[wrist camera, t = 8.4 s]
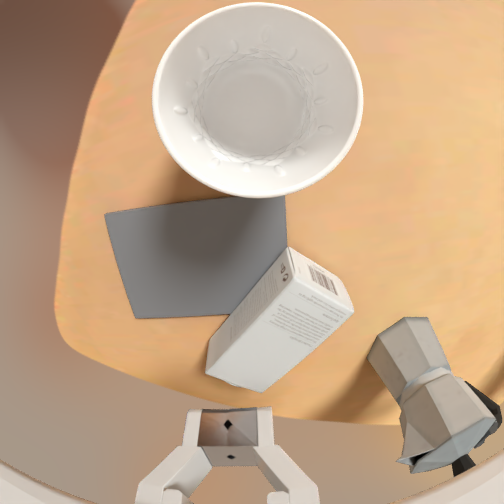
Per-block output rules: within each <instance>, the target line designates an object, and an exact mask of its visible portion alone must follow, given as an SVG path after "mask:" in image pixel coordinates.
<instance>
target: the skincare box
mask: <svg viewBox="0 0 504 504" xmlns="http://www.w3.org/2000/svg"><path fill="white" fill-rule="evenodd" d="M353 313H354V308H353V305H352V302H351V300H350V297H349V295H348V293H347V290H346V288H345V286H344V285H343V283H342V281H341V280H340V279H339V278H338V277H337V276H335V275H334V274H332V273H330V272H329V271H327V270H326V269H324V268H323V267H321V266H319V265H318V264H316V263H315V262H313V261H311V260H310V259H308V258H307V257H305V256H303V255H302V254H300V253H298V252H297V251H295V250H294V249H292V248H291V247H287V248H286V249H285V250H284V251H283V252H282V254H281V255H280V256H279V257H278V259H277V260H276V261H275V262H274V264H273V265H272V266H271V267H270V268H269V269H268V271H267V272H266V273H265V274H264V275H263V277H262V278H261V279H260V280H259V282H258V283H257V284H256V285H255V286H254V288H253V289H252V290H251V291H250V292H249V293H248V295H247V296H246V297H245V298H244V299H243V301H242V302H241V303H240V304H239V305H238V307H237V308H236V309H235V310H234V311H233V312H232V314H231V315H230V316H229V317H228V318H227V320H226V321H225V322H224V323H223V324H222V325H221V327H220V328H219V329H218V330H217V331H216V332H215V334H214V335H213V336H212V337H211V338H210V340H209V346H208V353H207V361H206V369H205V373H206V374H208V375H210V376H213V377H216V378H218V379H221V380H224V381H225V382H227V383H229V384H231V385H234V386H237V387H243V388H247V389H250V390H253V391H256V392H259V393H262V392H264V391H265V390H266V389H268V388H269V387H270V386H271V385H273V384H274V383H275V382H276V381H278V380H279V379H280V378H281V377H282V376H284V375H285V374H286V373H287V372H289V371H290V370H291V369H292V368H293V367H295V366H296V365H297V364H298V363H299V362H301V361H302V360H303V359H304V358H305V357H306V356H308V355H309V354H310V353H311V352H312V351H313V350H314V349H316V348H317V347H318V346H319V345H320V344H321V343H322V342H323V341H324V340H326V339H327V338H328V337H329V336H330V335H331V334H332V333H333V332H334V331H335V330H336V329H338V328H339V327H340V326H341V325H342V324H343V323H344V322H345V321H346V320H347V319H348V318H349V317H350V316H351V315H352V314H353Z"/></svg>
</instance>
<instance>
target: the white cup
mask: <svg viewBox="0 0 504 504" xmlns="http://www.w3.org/2000/svg"><path fill="white" fill-rule="evenodd" d="M152 110H153V117H154V121H155V125H156V128H157V131H158V134H159V136H160V138H161V140H162V142H163V144H164V146H165V148H166V149H167V151H168V152H169V154H170V155H171V156H172V158H173V159H174V160H175V161H176V163H177V164H178V165H179V166H180V167H181V168H182V169H183V170H185V171H186V172H187V173H188V174H189V175H191V176H192V177H193V178H195V179H196V180H198V181H199V182H201V183H203V184H204V185H206V186H208V187H210V188H212V189H215V190H217V191H220V192H223V193H226V194H230V195H234V196H239V197H246V198H272V197H279V196H284V195H288V194H291V193H294V192H297V191H300V190H302V189H305V188H307V187H309V186H311V185H313V184H314V183H316V182H318V181H319V180H321V179H322V178H324V177H325V176H326V175H328V174H329V173H330V172H331V171H332V170H333V169H334V168H335V167H336V166H337V165H338V164H339V163H340V162H341V161H342V160H343V158H344V157H345V156H346V154H347V153H348V151H349V150H350V148H351V146H352V144H353V142H354V140H355V138H356V136H357V133H358V130H359V127H360V124H361V119H362V113H363V90H362V84H361V79H360V76H359V72H358V70H357V67H356V65H355V62H354V60H353V58H352V57H351V55H350V53H349V51H348V50H347V48H346V47H345V46H344V44H343V43H342V42H341V41H340V39H339V38H338V37H337V36H336V35H335V34H334V33H333V32H332V31H331V30H330V29H329V28H327V27H326V26H325V25H324V24H322V23H321V22H319V21H318V20H316V19H315V18H313V17H311V16H309V15H307V14H305V13H303V12H301V11H299V10H296V9H293V8H290V7H287V6H283V5H278V4H272V3H260V2H253V3H241V4H235V5H230V6H227V7H223V8H220V9H217V10H215V11H212V12H210V13H208V14H206V15H204V16H202V17H201V18H199V19H197V20H196V21H194V22H193V23H191V24H190V25H189V26H188V27H186V28H185V29H184V30H183V31H182V32H181V33H180V34H179V35H178V36H177V37H176V38H175V39H174V40H173V42H172V43H171V44H170V46H169V47H168V49H167V50H166V52H165V53H164V55H163V57H162V59H161V61H160V63H159V66H158V68H157V71H156V74H155V78H154V83H153V89H152Z"/></svg>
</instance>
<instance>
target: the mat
mask: <svg viewBox="0 0 504 504" xmlns="http://www.w3.org/2000/svg"><path fill="white" fill-rule="evenodd" d="M104 216H105V220H106V224H107V228H108V232H109V236H110V240H111V243H112V247H113V251H114V254H115V258H116V261H117V264H118V268H119V271H120V274H121V277H122V281H123V284H124V287H125V290H126V293H127V296H128V299H129V302H130V304H131V307H132V310H133V313H134V316H135V318H164V317H187V316H205V315H221V314H232V312H233V311H234V310H235V309H236V308H237V307H238V305H239V304H240V303H241V302H242V301H243V299H244V298H245V297H246V296H247V295H248V293H249V292H250V291H251V290H252V289H253V288H254V286H255V285H256V284H257V283H258V282H259V280H260V279H261V278H262V277H263V275H264V274H265V273H266V272H267V271H268V269H269V268H270V267H271V266H272V265H273V264H274V262H275V261H276V260H277V259H278V257H279V256H280V255H281V254H282V252H283V251H284V250H285V249H286V248H287V229H286V209H285V195H284V196H279V197H272V198H246V197H239V196H232V197H223V198H213V199H205V200H196V201H188V202H180V203H172V204H165V205H157V206H150V207H143V208H137V209H130V210H124V211H117V212H111V213H106V214H105V215H104Z"/></svg>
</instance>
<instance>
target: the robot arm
mask: <svg viewBox="0 0 504 504" xmlns="http://www.w3.org/2000/svg"><path fill="white" fill-rule="evenodd" d="M212 466H258V468H259V469H260V470H261V472H262V473H263V474H264V475H265V477H266V478H267V479H268V481H269V482H270V484H271V485H272V486H273V487H274V488H275V490H276V491H277V492H271V493H269V494H268V495H267V504H320V500H319V494H318V487H317V485H316V484H315V483H314V482H313V481H312V480H311V479H310V478H309V477H308V476H307V475H306V474H305V473H304V472H303V471H302V470H301V469H300V468H299V467H298V466H297V465H296V464H295V463H294V461H293V460H292V459H291V458H290V457H289V456H288V455H287V454H286V453H285V452H284V451H283V450H282V448H281V447H280V446H279V445H275V443H274V429H273V417H272V407H259V408H257V407H254V408H239V409H189V410H188V412H187V417H186V423H185V429H184V435H183V441H182V446H177V447H176V448H175V449H174V450H173V451H172V452H171V453H170V454H169V455H168V456H167V457H166V458H165V459H164V460H163V461H162V462H161V463H160V464H159V465H158V466H157V467H156V468H155V469H154V470H153V471H152V472H151V473H150V474H148V475H147V476H146V477H145V478H144V479H143V480H142V481H141V482H140V483H139V486H138V491H137V495H136V500H135V504H194V503H192V502H191V501H190V500H189V499H188V498H189V497H190V496H191V494H192V493H193V492H194V491H195V489H196V488H197V487H198V486H199V484H200V483H201V482H202V481H203V479H204V478H205V477H206V475H207V474H208V473H209V471H210V470H211V469H212ZM0 504H97V503H94V502H91V501H88V500H85V499H82V498H80V497H77V496H74V495H71V494H69V493H67V492H64V491H62V490H59V489H57V488H54V487H52V486H50V485H48V484H46V483H43V482H41V481H39V480H37V479H35V478H33V477H31V476H29V475H27V474H25V473H23V472H22V471H19V470H18V469H16V468H14V467H13V466H11V465H9V464H7V463H6V462H4V461H2V460H1V459H0ZM389 504H504V449H502V450H501V451H499V452H498V453H496V454H494V455H493V456H491V457H490V458H488V459H486V460H485V461H483V462H481V463H480V464H478V465H476V466H474V467H472V468H471V469H469V470H467V471H465V472H463V473H461V474H459V475H457V476H455V477H453V478H451V479H449V480H447V481H445V482H443V483H441V484H439V485H436V486H434V487H432V488H429V489H427V490H424V491H422V492H419V493H417V494H415V495H412V496H409V497H407V498H403V499H401V500H398V501H395V502H392V503H389Z"/></svg>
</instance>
